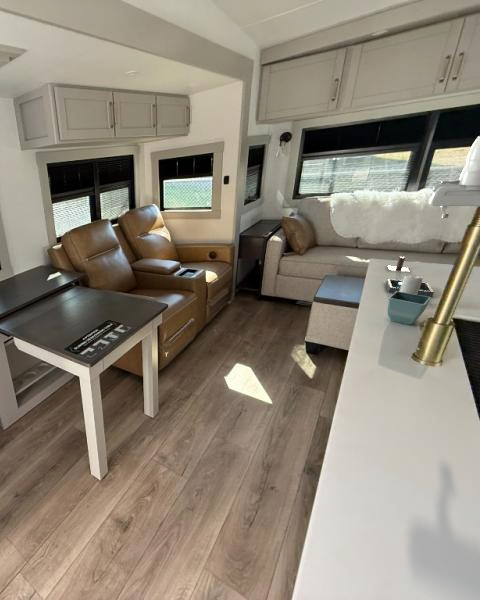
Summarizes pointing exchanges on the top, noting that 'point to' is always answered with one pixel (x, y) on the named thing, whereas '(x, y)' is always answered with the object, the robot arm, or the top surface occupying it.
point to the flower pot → (406, 307)
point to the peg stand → (399, 266)
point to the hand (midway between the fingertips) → (462, 218)
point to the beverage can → (411, 284)
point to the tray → (424, 291)
